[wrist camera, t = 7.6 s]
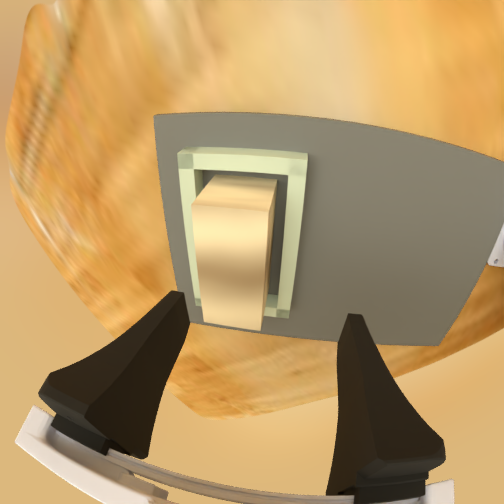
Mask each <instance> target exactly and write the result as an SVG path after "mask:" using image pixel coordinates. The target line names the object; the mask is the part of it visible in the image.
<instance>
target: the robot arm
mask: <svg viewBox="0 0 504 504" xmlns="http://www.w3.org/2000/svg"><path fill="white" fill-rule="evenodd" d="M487 263H488V265H490V266H497V267H504V223H503V226H502V229H501V231H500V234H499V236H498V238H497V241H496V243H495V245H494V248H493V250H492V252H491V254H490V257H489V259H488V261H487ZM189 325H190V319H189V315H188V310H187V305H186V300H185V295H184V292H178V291H170V292H169V293H168V294H167V295H166V296H165V297H164V298H163V299H162V300H161V301H160V302H159V303H158V304H156V305H155V306H154V307H153V308H152V309H151V310H150V311H149V312H148V313H147V314H146V315H145V316H143V317H142V318H141V319H140V320H139V321H138V322H137V323H136V324H134V325H133V326H132V327H131V328H129V329H128V330H127V331H126V332H125V333H123V334H122V335H121V336H119V337H118V338H117V339H115V340H114V341H113V342H111V343H110V344H108V345H107V346H105V347H104V348H102V349H100V350H99V351H97V352H95V353H93V354H92V355H90V356H88V357H86V358H84V359H83V360H81V361H79V362H76V363H74V364H72V365H70V366H67V367H65V368H62V369H60V370H57V371H54V372H51V373H50V374H49V376H48V377H47V379H46V380H45V382H44V384H43V385H42V387H41V389H40V391H39V392H38V394H39V397H40V398H41V399H42V400H43V401H44V402H45V403H46V404H47V405H48V406H49V407H50V408H51V409H52V410H53V411H55V412H56V415H55V417H53V416H51V415H50V414H48V413H47V412H45V411H44V410H42V409H41V408H39V407H37V406H36V405H33V407H32V409H31V411H30V413H29V415H28V416H27V418H26V420H25V422H24V424H23V426H22V428H21V430H20V432H19V434H18V436H17V438H16V441H15V443H16V444H17V445H19V446H20V447H21V448H22V449H23V450H25V451H26V452H27V453H29V454H30V455H31V456H33V457H34V458H35V459H37V460H38V461H39V462H40V463H42V464H43V465H44V466H46V467H47V468H48V469H50V470H51V471H53V472H54V473H56V474H57V475H58V476H60V477H61V478H63V479H64V480H66V481H67V482H69V483H70V484H72V485H73V486H75V487H76V488H78V489H80V490H81V491H83V492H85V493H86V494H88V495H90V496H91V497H93V498H95V499H97V500H98V501H100V502H102V503H104V504H177V503H174V502H171V501H167V496H168V491H166V490H163V489H161V488H159V487H157V486H155V485H154V484H151V483H148V482H146V481H143V480H141V479H139V478H136V477H135V476H134V474H133V473H135V474H137V475H140V476H143V477H145V478H148V479H151V480H153V481H157V482H159V483H162V484H165V485H168V486H171V487H175V488H178V489H182V490H185V491H188V492H192V493H196V494H200V495H204V496H208V497H212V498H217V499H222V500H226V501H232V502H237V503H243V504H454V480H453V479H450V480H446V481H441V482H437V483H432V484H428V485H425V480H427V479H428V476H429V475H428V471H430V470H432V469H434V468H436V467H438V466H440V465H441V464H442V463H444V461H445V460H446V455H445V447H444V442H443V439H442V438H441V437H440V436H439V435H438V434H437V433H436V432H435V431H434V430H433V429H432V428H431V427H430V426H429V425H428V424H427V423H426V422H425V421H424V420H423V419H422V418H421V416H420V415H419V414H418V413H417V412H416V410H415V409H414V408H413V406H412V405H411V404H410V403H409V402H408V400H407V398H406V397H405V396H404V394H403V393H402V392H401V390H400V388H399V387H398V385H397V384H396V382H395V381H394V379H393V377H392V375H391V374H390V372H389V370H388V368H387V366H386V365H385V363H384V361H383V359H382V357H381V355H380V353H379V351H378V349H377V347H376V345H375V343H374V341H373V338H372V336H371V334H370V332H369V329H368V327H367V325H366V322H365V320H364V317H363V316H362V314H352V313H348V315H347V318H346V321H345V324H344V327H343V329H342V332H341V335H340V338H339V341H338V349H337V381H338V406H339V408H338V423H337V433H336V441H335V449H334V455H333V461H332V467H331V472H330V477H329V481H328V485H327V490H326V496H314V495H295V494H282V493H273V492H265V491H257V490H251V489H244V488H238V487H233V486H227V485H222V484H218V483H214V482H209V481H205V480H201V479H197V478H193V477H189V476H185V475H182V474H179V473H175V472H172V471H169V470H166V469H163V468H160V467H157V466H154V465H151V464H148V463H145V462H142V461H140V460H137V459H135V458H132V457H129V456H133V457H136V458H138V459H145V458H146V457H148V452H149V447H150V442H151V436H152V431H153V427H154V423H155V419H156V415H157V411H158V408H159V404H160V401H161V397H162V394H163V390H164V388H165V385H166V382H167V380H168V378H169V375H170V373H171V371H172V369H173V366H174V364H175V362H176V360H177V358H178V355H179V353H180V351H181V349H182V346H183V344H184V342H185V338H186V335H187V332H188V329H189ZM124 454H127V455H129V456H127V455H124Z"/></svg>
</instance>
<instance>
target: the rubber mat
mask: <svg viewBox="0 0 504 504" xmlns="http://www.w3.org/2000/svg"><path fill="white" fill-rule="evenodd" d="M154 129H155V140H156V150H157V160H158V169H159V177H160V185H161V193H162V200H163V208H164V214H165V221H166V227H167V234H168V240H169V246H170V252H171V257H172V263H173V268H174V273H175V279H176V284H177V289H178V292H184V295H185V300H186V305H187V310H188V315H189V319H190V322H191V323H197V324H202V325H208V326H214V327H220V328H226V329H233V330H240V331H246V332H253V333H261V334H268V335H276V336H285V337H293V338H303V339H313V340H323V341H335V342H338V341H339V338H340V335H341V332H342V329H343V327H344V324H345V321H346V318H347V315H348V313H352V314H362V316H363V317H364V320H365V322H366V325H367V327H368V329H369V332H370V334H371V336H372V338H373V341H374V343H375V344H381V345H409V346H439V344H440V343H441V341H442V340H443V338H444V337H445V335H446V334H447V332H448V331H449V329H450V328H451V326H452V325H453V323H454V321H455V320H456V318H457V317H458V315H459V313H460V312H461V310H462V308H463V307H464V305H465V303H466V301H467V300H468V298H469V296H470V294H471V292H472V291H473V289H474V287H475V285H476V283H477V281H478V279H479V277H480V275H481V273H482V271H483V269H484V267H485V265H486V263H487V261H488V259H489V257H490V254H491V252H492V250H493V248H494V245H495V243H496V241H497V238H498V236H499V234H500V231H501V229H502V226H503V223H504V162H503V161H500V160H498V159H495V158H492V157H490V156H487V155H484V154H481V153H478V152H475V151H472V150H469V149H466V148H463V147H460V146H456V145H453V144H450V143H446V142H443V141H439V140H435V139H431V138H428V137H424V136H420V135H416V134H411V133H407V132H402V131H398V130H393V129H388V128H383V127H378V126H373V125H367V124H361V123H355V122H348V121H341V120H334V119H326V118H318V117H309V116H298V115H286V114H271V113H248V112H195V113H172V114H157V115H154ZM185 147H227V148H250V149H266V150H279V151H291V152H301V153H308V161H307V172H306V183H305V193H304V203H303V212H302V221H301V230H300V238H299V246H298V254H297V262H296V270H295V277H294V285H293V292H292V299H291V306H290V312H289V319H287V318H279V317H271V316H263V321H262V326H261V331H257V330H250V329H243V328H237V327H231V326H224V325H218V324H213V323H207V322H204V319H203V311H202V307H201V306H196V303H195V297H194V291H193V284H192V278H191V271H190V264H189V257H188V250H187V242H186V234H185V226H184V218H183V209H182V200H181V190H180V180H179V169H178V158H177V153H178V152H180V151H181V150H183V149H184V148H185ZM215 174H217V175H232V176H245V177H257V178H268V179H277V192H276V206H275V220H274V233H273V246H272V258H271V271H270V282H269V291H268V294H273V295H278V293H279V283H280V272H281V262H282V250H283V239H284V227H285V215H286V202H287V188H288V175H281V174H270V173H257V172H242V171H225V170H202V175H203V189H204V188H205V186H206V185H207V184H208V183H209V182H210V180H211V179H212V178H213V177H214V175H215Z"/></svg>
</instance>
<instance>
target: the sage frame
mask: <svg viewBox="0 0 504 504" xmlns="http://www.w3.org/2000/svg"><path fill="white" fill-rule="evenodd" d="M177 158H178V169H179V180H180V190H181V200H182V209H183V218H184V226H185V234H186V242H187V250H188V257H189V264H190V271H191V278H192V284H193V291H194V297H195V303H196V306H201V307H202V304H201V296H200V288H199V279H198V271H197V262H196V252H195V243H194V232H193V221H192V210H191V204H192V203H193V202H194V200H195V199H196V198H197V196H198V195H199V194H200V193H201V191H202V190H203V175H202V170H225V171H242V172H257V173H270V174H281V175H288V188H287V202H286V215H285V227H284V239H283V250H282V262H281V272H280V283H279V293H278V295H273V294H268V296H267V301H266V306H265V311H264V316H271V317H279V318H287V319H289V312H290V306H291V299H292V292H293V285H294V277H295V270H296V262H297V254H298V246H299V238H300V230H301V221H302V212H303V203H304V193H305V183H306V172H307V161H308V153H301V152H291V151H279V150H266V149H250V148H227V147H185V148H184V149H183V150H181V151H180V152H178V153H177Z"/></svg>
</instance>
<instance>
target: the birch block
mask: <svg viewBox="0 0 504 504" xmlns="http://www.w3.org/2000/svg"><path fill="white" fill-rule="evenodd" d="M276 192H277V179H268V178H257V177H245V176H232V175H217V174H215V175H214V177H213V178H212V179H211V180H210V182H209V183H208V184H207V185H206V186H205V188H204V189H203V190H202V191H201V193H200V194H199V195H198V196H197V198H196V199H195V200H194V202H193V203H192V204H191V210H192V221H193V232H194V243H195V252H196V262H197V271H198V279H199V288H200V296H201V304H202V311H203V319H204V322H207V323H213V324H218V325H224V326H231V327H237V328H243V329H250V330H257V331H261V326H262V321H263V316H264V311H265V306H266V301H267V296H268V291H269V282H270V271H271V258H272V246H273V233H274V220H275V206H276Z"/></svg>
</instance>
